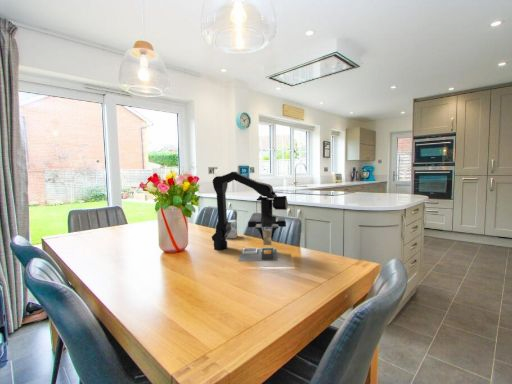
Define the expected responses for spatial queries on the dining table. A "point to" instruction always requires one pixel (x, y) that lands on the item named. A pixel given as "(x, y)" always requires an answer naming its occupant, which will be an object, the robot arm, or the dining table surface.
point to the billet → (266, 236)
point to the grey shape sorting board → (258, 254)
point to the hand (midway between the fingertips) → (267, 240)
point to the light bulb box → (233, 229)
